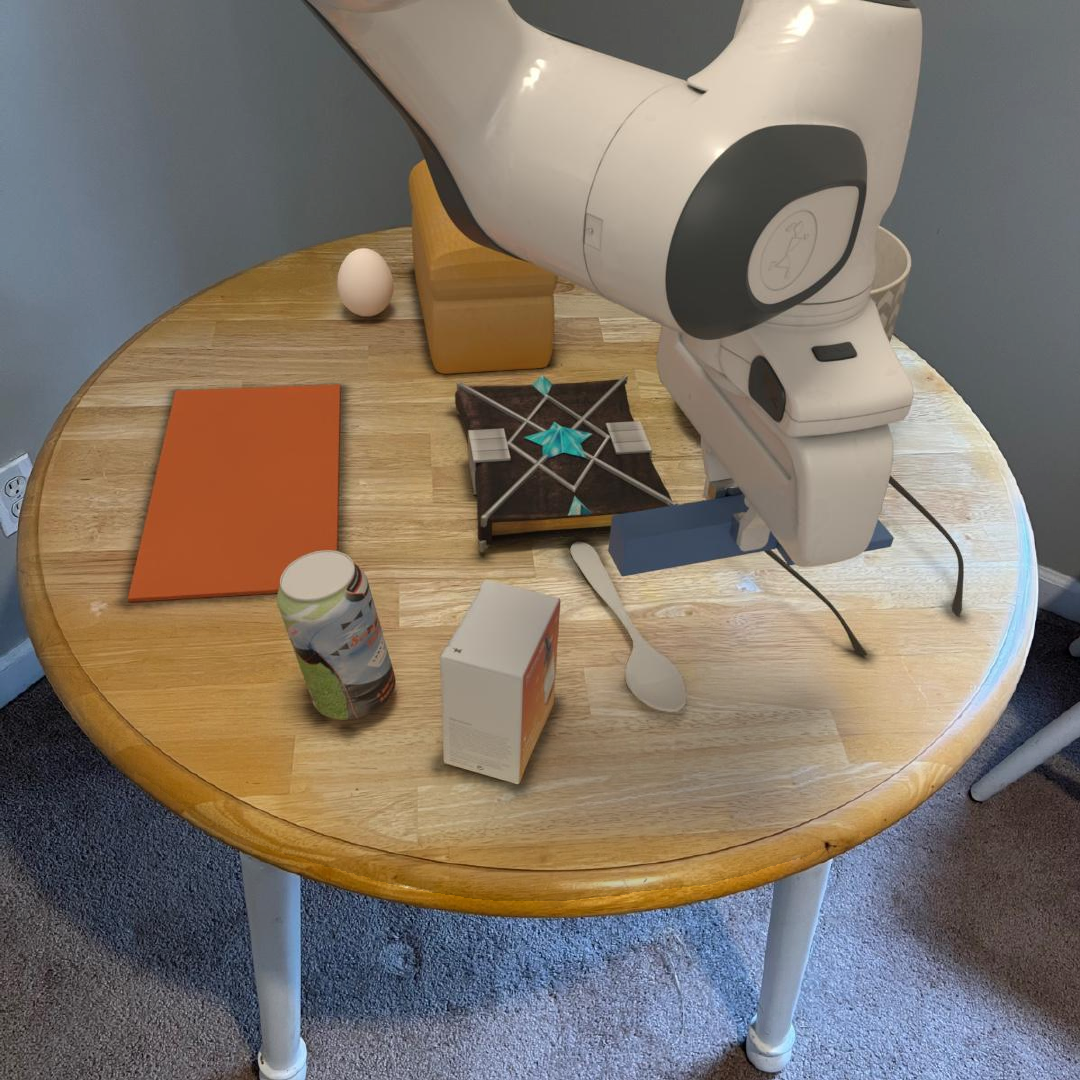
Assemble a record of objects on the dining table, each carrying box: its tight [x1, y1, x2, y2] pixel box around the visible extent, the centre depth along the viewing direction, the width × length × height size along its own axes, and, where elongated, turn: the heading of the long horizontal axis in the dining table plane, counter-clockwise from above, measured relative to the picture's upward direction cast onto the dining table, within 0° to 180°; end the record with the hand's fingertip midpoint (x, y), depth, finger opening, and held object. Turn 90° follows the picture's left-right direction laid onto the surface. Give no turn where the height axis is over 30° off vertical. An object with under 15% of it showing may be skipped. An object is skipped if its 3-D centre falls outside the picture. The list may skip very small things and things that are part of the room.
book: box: [454, 374, 678, 553], centre depth 98 cm, size 22×17×5 cm
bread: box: [408, 158, 559, 375], centre depth 117 cm, size 24×13×15 cm, turn 10°
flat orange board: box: [127, 383, 341, 603], centre depth 97 cm, size 30×16×1 cm, turn 7°
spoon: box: [570, 541, 688, 713], centre depth 84 cm, size 4×21×2 cm, turn 18°
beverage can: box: [276, 550, 396, 721], centre depth 75 cm, size 6×7×12 cm
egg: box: [336, 247, 395, 317], centre depth 119 cm, size 6×6×8 cm
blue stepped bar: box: [608, 494, 895, 577], centre depth 66 cm, size 17×6×3 cm, turn 107°
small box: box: [439, 578, 562, 785], centre depth 73 cm, size 8×6×10 cm
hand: (733, 523), depth 65 cm, fingers closed on blue stepped bar, 2 cm apart
